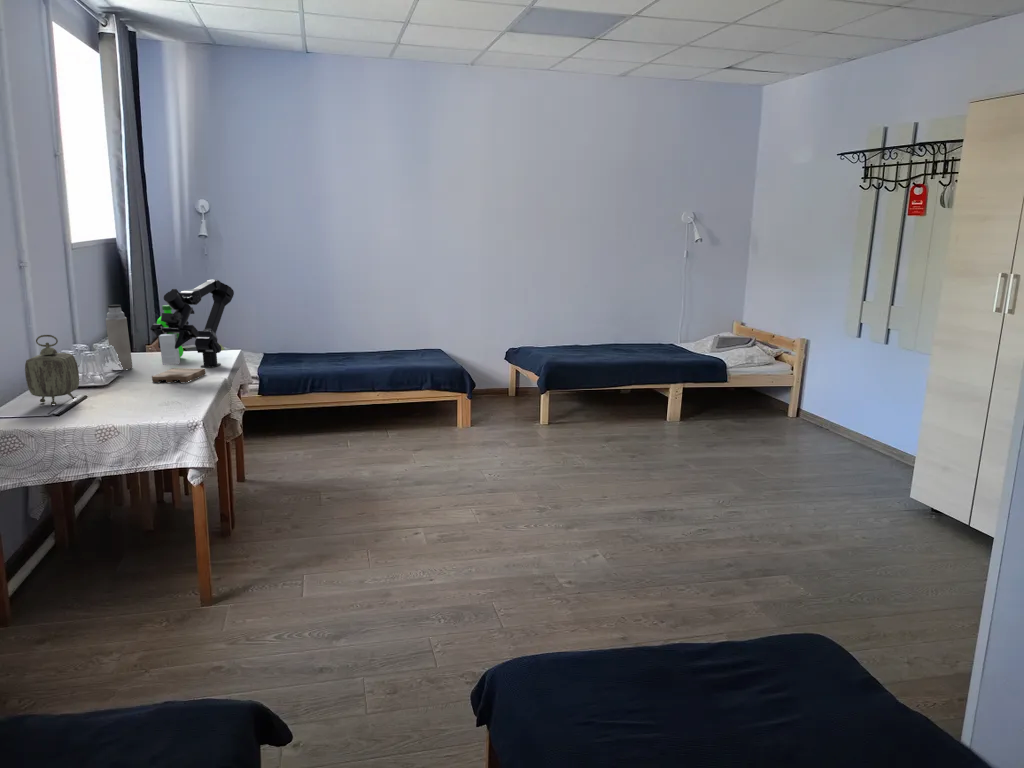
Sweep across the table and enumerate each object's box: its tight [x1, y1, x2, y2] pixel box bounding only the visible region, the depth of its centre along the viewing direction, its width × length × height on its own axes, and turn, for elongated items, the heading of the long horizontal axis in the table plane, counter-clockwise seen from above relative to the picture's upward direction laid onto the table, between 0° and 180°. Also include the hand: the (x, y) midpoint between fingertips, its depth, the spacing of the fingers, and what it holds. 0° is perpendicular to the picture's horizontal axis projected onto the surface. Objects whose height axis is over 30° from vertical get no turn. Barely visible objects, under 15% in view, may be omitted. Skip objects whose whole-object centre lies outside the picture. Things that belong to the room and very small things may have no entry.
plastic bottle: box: [156, 304, 184, 358], centre depth 341 cm, size 10×10×25 cm
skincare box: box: [159, 334, 181, 366], centre depth 301 cm, size 6×4×12 cm
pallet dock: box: [151, 367, 206, 383], centre depth 304 cm, size 16×14×2 cm
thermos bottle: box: [105, 304, 134, 371], centre depth 321 cm, size 8×8×28 cm
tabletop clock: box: [24, 334, 80, 406], centre depth 262 cm, size 14×9×25 cm, turn 100°
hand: (167, 348), depth 299 cm, fingers closed on skincare box, 7 cm apart
